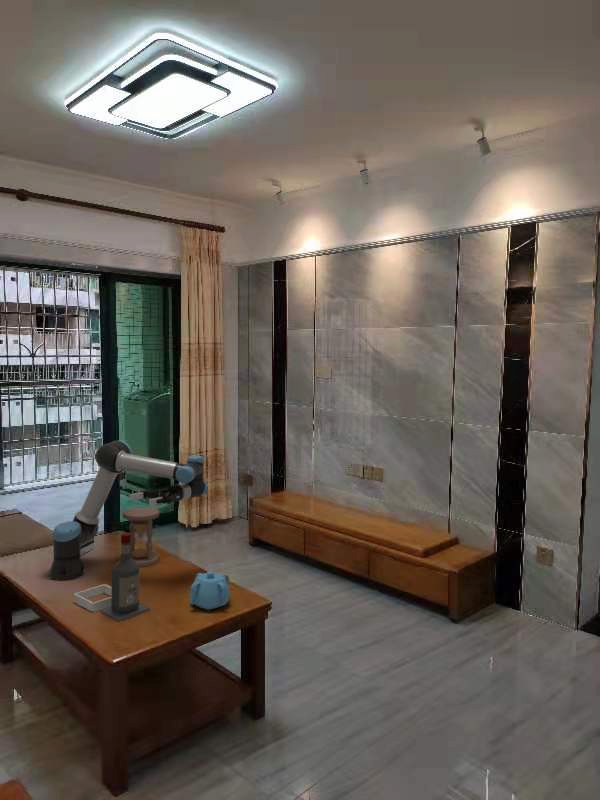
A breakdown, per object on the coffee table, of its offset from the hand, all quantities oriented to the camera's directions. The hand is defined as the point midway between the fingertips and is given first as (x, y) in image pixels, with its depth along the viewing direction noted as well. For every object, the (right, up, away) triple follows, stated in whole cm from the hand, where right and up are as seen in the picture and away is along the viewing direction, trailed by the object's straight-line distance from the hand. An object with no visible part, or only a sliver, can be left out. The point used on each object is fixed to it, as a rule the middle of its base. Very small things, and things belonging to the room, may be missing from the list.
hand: (139, 500), depth 249 cm
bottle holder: (-14, -40, -10) cm, 44 cm away
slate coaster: (-1, -41, -18) cm, 45 cm away
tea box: (-46, -36, +50) cm, 77 cm away
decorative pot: (+32, -42, -9) cm, 53 cm away
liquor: (-1, -40, -18) cm, 44 cm away
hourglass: (-11, -38, +40) cm, 56 cm away
